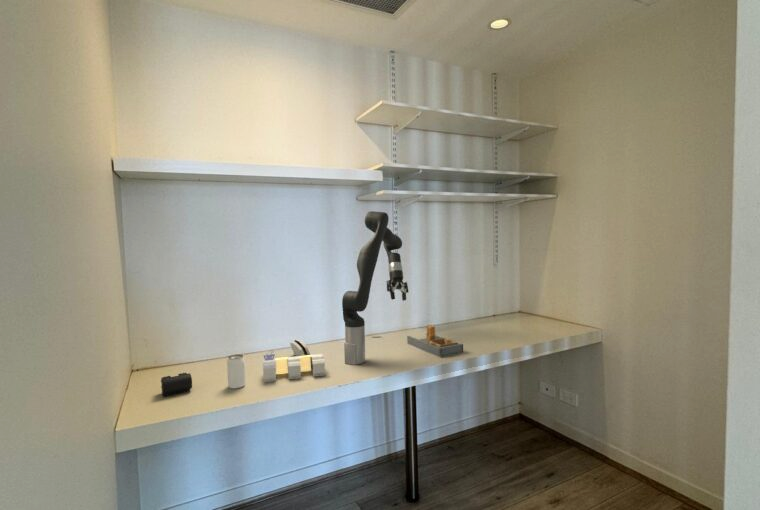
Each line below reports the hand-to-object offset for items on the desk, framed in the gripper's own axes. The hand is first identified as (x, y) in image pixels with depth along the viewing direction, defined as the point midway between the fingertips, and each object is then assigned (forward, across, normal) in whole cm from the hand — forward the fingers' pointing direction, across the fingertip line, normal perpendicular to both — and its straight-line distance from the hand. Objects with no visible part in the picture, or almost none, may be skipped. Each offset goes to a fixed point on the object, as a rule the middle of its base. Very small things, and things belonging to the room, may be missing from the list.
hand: (398, 299), depth 214 cm
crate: (+28, +9, -16) cm, 33 cm away
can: (+38, -84, +13) cm, 93 cm away
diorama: (+36, -62, +7) cm, 72 cm away
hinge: (+27, -47, +25) cm, 60 cm away
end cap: (+39, -103, +23) cm, 113 cm away
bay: (+27, +10, -12) cm, 31 cm away
